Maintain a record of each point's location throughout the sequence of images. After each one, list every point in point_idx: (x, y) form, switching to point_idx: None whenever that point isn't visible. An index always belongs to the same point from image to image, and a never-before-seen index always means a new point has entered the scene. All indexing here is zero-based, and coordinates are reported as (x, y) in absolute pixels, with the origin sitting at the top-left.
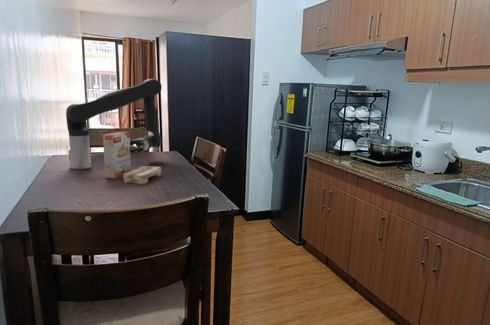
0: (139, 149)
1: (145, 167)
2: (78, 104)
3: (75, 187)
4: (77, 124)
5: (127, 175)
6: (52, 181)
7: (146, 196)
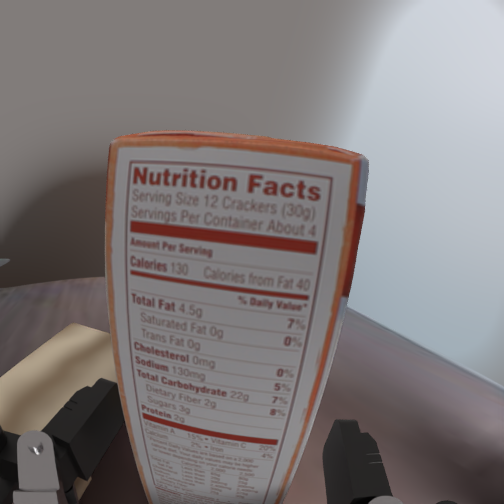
0: (7, 439)
1: (37, 430)
2: None
3: None
4: None
5: None
6: (411, 369)
7: (86, 295)
